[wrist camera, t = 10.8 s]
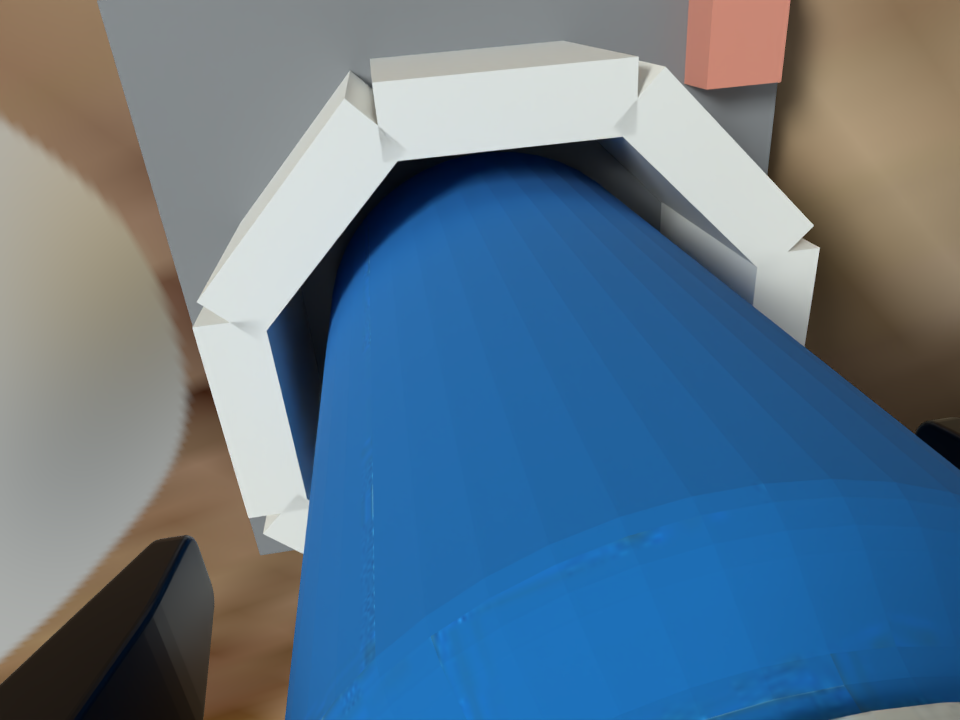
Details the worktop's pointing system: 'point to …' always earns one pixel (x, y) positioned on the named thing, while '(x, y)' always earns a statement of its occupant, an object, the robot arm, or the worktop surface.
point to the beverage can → (601, 484)
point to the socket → (429, 162)
